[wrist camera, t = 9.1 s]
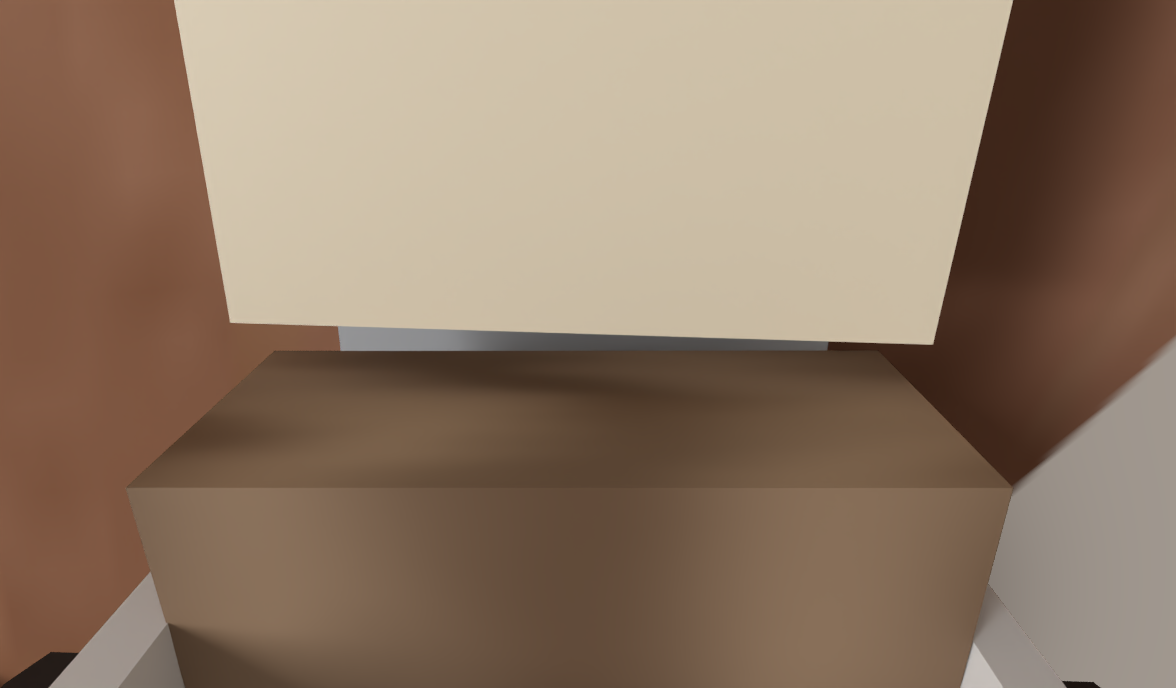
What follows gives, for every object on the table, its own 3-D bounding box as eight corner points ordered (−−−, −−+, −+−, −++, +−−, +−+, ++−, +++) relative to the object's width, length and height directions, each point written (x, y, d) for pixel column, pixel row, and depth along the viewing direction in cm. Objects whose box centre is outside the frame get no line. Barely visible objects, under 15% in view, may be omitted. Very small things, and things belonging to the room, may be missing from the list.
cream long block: (383, 598, 18) (310, 782, 14) (240, -796, 9) (-114, -1648, 5) (767, 610, 18) (826, 798, 14) (991, -770, 9) (1383, -1593, 5)
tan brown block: (333, 667, 14) (243, 881, 11) (274, 350, 12) (126, 487, 8) (824, 668, 14) (907, 883, 10) (877, 350, 12) (1013, 488, 8)
